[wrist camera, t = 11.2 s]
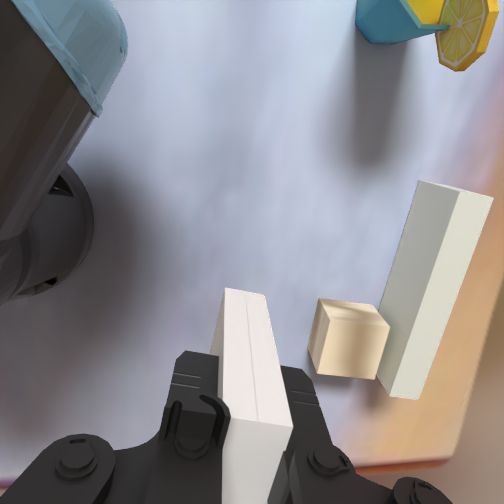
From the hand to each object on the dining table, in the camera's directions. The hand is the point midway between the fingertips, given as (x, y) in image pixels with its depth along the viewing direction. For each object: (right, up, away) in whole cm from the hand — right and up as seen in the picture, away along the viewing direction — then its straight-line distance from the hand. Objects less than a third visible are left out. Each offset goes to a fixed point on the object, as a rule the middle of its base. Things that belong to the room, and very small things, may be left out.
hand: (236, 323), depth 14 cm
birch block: (+10, -5, +28) cm, 30 cm away
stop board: (+17, 0, +26) cm, 31 cm away
